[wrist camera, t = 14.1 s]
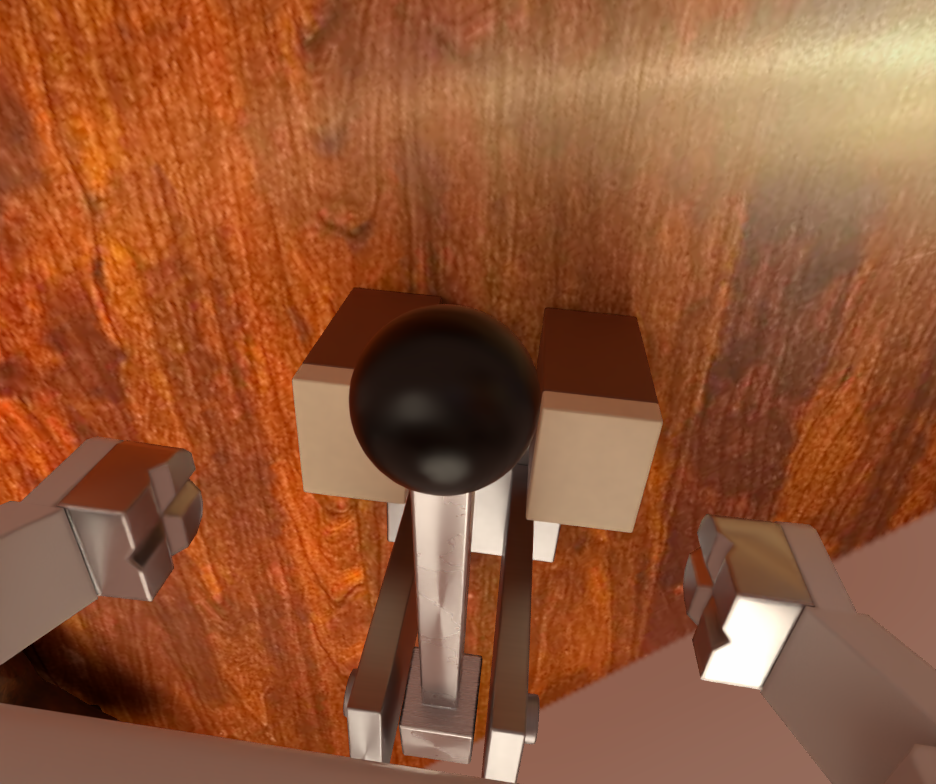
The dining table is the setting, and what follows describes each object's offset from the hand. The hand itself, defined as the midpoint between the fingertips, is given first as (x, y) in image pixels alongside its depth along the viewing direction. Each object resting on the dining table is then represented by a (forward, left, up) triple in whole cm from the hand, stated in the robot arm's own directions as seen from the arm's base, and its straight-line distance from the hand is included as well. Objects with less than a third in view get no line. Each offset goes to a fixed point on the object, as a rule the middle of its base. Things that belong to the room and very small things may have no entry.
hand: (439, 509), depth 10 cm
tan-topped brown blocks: (0, +5, -15) cm, 16 cm away
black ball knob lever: (0, +5, -4) cm, 6 cm away
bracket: (0, +12, -15) cm, 19 cm away
